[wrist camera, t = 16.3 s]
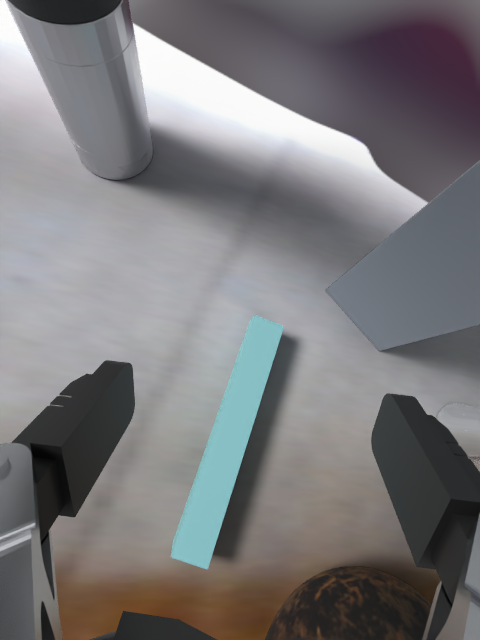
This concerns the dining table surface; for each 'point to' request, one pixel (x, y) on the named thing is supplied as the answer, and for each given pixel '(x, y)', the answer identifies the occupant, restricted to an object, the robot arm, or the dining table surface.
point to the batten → (226, 445)
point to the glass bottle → (352, 608)
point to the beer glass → (463, 426)
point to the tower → (420, 272)
